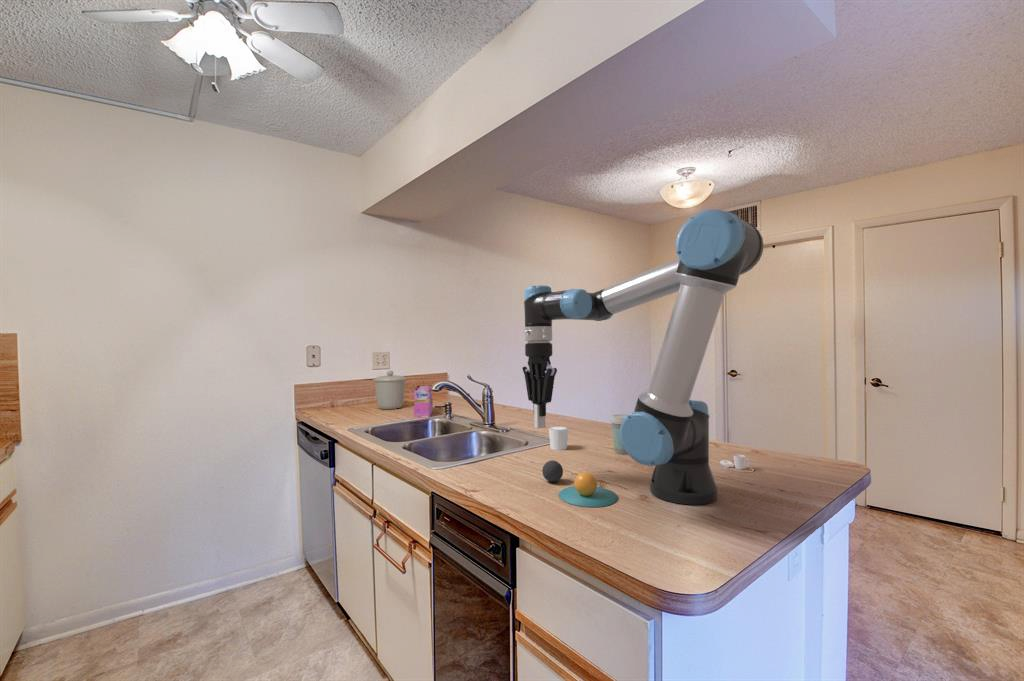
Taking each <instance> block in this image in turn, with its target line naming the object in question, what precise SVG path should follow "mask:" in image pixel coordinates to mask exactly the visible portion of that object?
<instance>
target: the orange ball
mask: <svg viewBox="0 0 1024 681" xmlns="http://www.w3.org/2000/svg"><path fill="white" fill-rule="evenodd" d="M573 484H574V486H575V489H576V491H577V492H578V493H579V494H581V495H583V496H590V495H592V494H593V493H594V492H595V491H596V489H597V487H598V481H597V479H596V477H595V476H594V474H592V473H590V472H587V471H583V472H580V473H579V474H577V475H576V477H575V478H574V481H573Z"/></svg>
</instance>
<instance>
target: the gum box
mask: <svg viewBox="0 0 1024 681" xmlns="http://www.w3.org/2000/svg"><path fill="white" fill-rule="evenodd" d="M431 389H432V391H431ZM413 399H414V400H413V401H414V403H413V404H414V405H413V412H414V413H413V414H414V415H413V417H418V418H423V417H422V416H430V415H431V416H432V412H433V410H434V409H433V408H434V407H433V406H434V405H433V404H434V402H433V385H432V384H430V385H429V386H426V385H425V386H422V385H417V386H416V388H415V389H414V391H413ZM431 416H430V417H431Z"/></svg>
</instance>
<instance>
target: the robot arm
mask: <svg viewBox="0 0 1024 681" xmlns="http://www.w3.org/2000/svg"><path fill="white" fill-rule="evenodd" d="M675 252H676V254H677V258H675V259H672V260H670V261H667V262H666V263H663V264H661V265H658V266H656V267H652V268H650V269H649V270H645V271H643V272H641V273H638V274H636V275H633V276H632V277H628V278H626V279H624V280H622V281H619V282H616V283H614V284H611V285H609V286H607V287H605V288H603V289H600V290H598V291H595V292H587V290H586V289H582V288H575V289H574V288H571V289H566V290H558V291H552V287H550V286H549V285H531V286H530V285H529V286H527V287H526V288H525V289H524V301H523V305H524V330H525V331H524V336H525V341H526V342H527V343H525V344H524V352H525V353H524V355H525V357H528V359H527V365H526V366H522V373H523V374H524V375H523V376H524V380H525V387H526V391H527V399H528V401H530V402H531V403H532V404H533V406H532V407H533V415H534V416H533V417H534V418H533V420H534V423H533V424H534V425H533V426H534V428H535V429H544V428H546V415H547V404H549V403H551V402H552V400H553V399H552V397H553V392H554V383H555V378H556V377H555V376H556V375H557V372H558V368H556V367H553V366H552V365H551V364H552V362H551V360H550V358H551V357H553V343H552V341H553V321H556V320H575V321H576V320H577V321H578V320H579V321H595V322H601V321H608V320H610V319H611V318H612V317H613V316H614V315H615V314H619V313H621V312H624V311H626V310H629V309H633V308H635V307H637V306H640V305H644V304H646V303H649V302H652V301H655V300H658V299H660V298H662V297H663V298H664V297H666V296H668V295H672V294H675V293H677V294H676V298H675V302H674V304H673V309H672V311H671V314H670V318H669V321H668V324H667V327H666V330H665V334H664V337H663V341H662V344H661V347H660V350H659V353H658V356H657V360H656V363H655V366H654V370H653V373H652V376H651V380H650V382H649V386H648V389H647V390H646V391H644V392H641V393H639V395H638V397H637V401H636V404H635V407H634V411H633V412H632V413H629V414H627V415H628V416H627V417H626V418H625V419H624V420H623V422H622V424H621V427H620V439H621V443H622V445H623V446H624V448H625V451H626V452H627V455H628V456H629V457H630V458H631V459H632V460H634V462H636V463H638V464H640V465H643V466H645V467H647V466H648V467H654V469H653V472H652V476H651V479H650V482H649V483H650V486H649V487H650V489H649V490H650V493H651V494H652V495H653V496H654V497H656V498H659V499H661V500H663V501H668V502H670V503H674V504H682V505H690V506H691V505H693V506H694V505H696V506H698V505H706V504H707V505H708V504H711V503H714V502H715V501H717V499H718V487H717V485H716V482H715V479H714V475H713V472H712V470H711V466H710V462H709V461H710V456H709V455H710V453H709V452H710V450H709V449H710V436H709V435H710V432H709V430H710V429H709V428H710V424H709V423H710V420H709V419H710V414H709V406H708V404H707V403H706V402H705V401H702V400H692V399H691V396H692V393H693V390H694V389H695V384H696V381H697V378H698V375H699V372H700V369H701V367H702V362H703V360H704V357H705V354H706V351H707V347H708V345H709V342H710V339H711V336H712V333H713V330H714V328H715V327H714V326H715V323H716V321H717V318H718V314H719V312H720V309H721V306H722V303H723V300H724V297H725V295H726V293H728V292H730V291H732V290H733V289H735V288H736V287H737V284H738V281H739V278H740V276H741V275H744V274H746V273H747V272H749V271H751V270H752V269H753V268H754V267H755V266H756V265H757V264H758V263H759V262H760V260H761V257H762V256H763V253H764V238H763V236H762V234H761V232H760V231H759V229H757V228H756V226H755V225H753V224H752V223H749V222H748V221H746V220H743V219H742V218H740V217H739V216H738V215H737V214H735V213H734V212H730V211H727V210H724V209H715V208H712V209H706V210H702V211H700V212H697V213H696V214H694V215H692V216H691V217H690V218H688V219H687V220H686V221H685V222H684V223H683V225H682V226H681V227H680V229H679V230H678V233H677V236H676V240H675Z"/></svg>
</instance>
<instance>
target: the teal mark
mask: <svg viewBox="0 0 1024 681" xmlns="http://www.w3.org/2000/svg"><path fill="white" fill-rule="evenodd" d="M558 498H559V499H560V500H561V501H563V502H564V503H566V504H569V505H571V506H577V507H582V508H602V507H608V506H611V505H613V504H615V503H617V502H618V499H619V496H618V495H617V493H616V492H614V491H613V490H610V489H607V488H604V487H601V486H597V489H596V491H595V492H594V493H593V494H592V495H590V496H583V495H581V494H579V493H578V492H577V491H576V489H575V486H568V487H565V488H562V489H561V490H560V491H559V492H558Z"/></svg>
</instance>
